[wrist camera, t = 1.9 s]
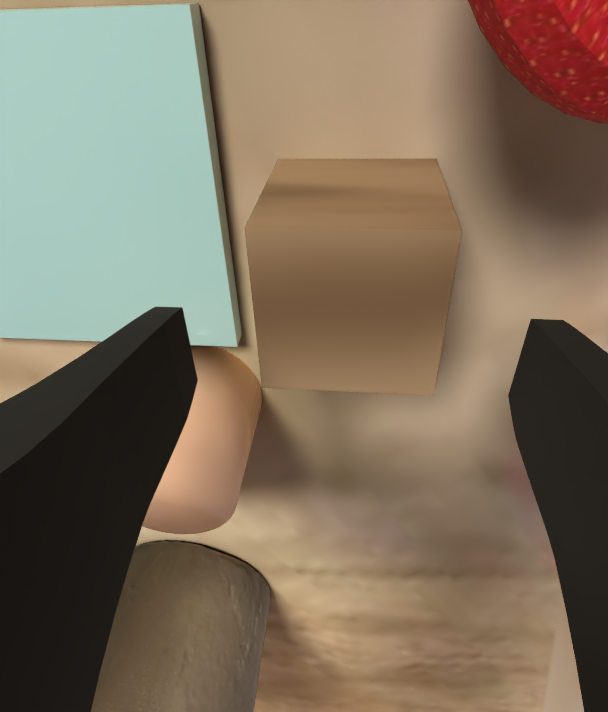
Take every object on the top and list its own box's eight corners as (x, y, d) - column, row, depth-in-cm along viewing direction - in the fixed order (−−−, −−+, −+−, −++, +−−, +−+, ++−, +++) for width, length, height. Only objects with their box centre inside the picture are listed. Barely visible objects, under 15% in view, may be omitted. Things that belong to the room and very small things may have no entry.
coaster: (241, 333, 18) (237, 346, 18) (-10, 325, 19) (-22, 336, 19) (198, 2, 12) (189, 4, 12) (-164, 15, 13) (-191, 17, 13)
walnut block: (418, 296, 17) (433, 395, 13) (286, 292, 17) (262, 387, 13) (436, 158, 14) (461, 231, 10) (278, 158, 14) (244, 227, 11)
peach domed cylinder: (266, 436, 22) (243, 539, 18) (156, 430, 22) (110, 528, 18) (256, 344, 19) (226, 443, 15) (129, 339, 19) (67, 434, 15)
